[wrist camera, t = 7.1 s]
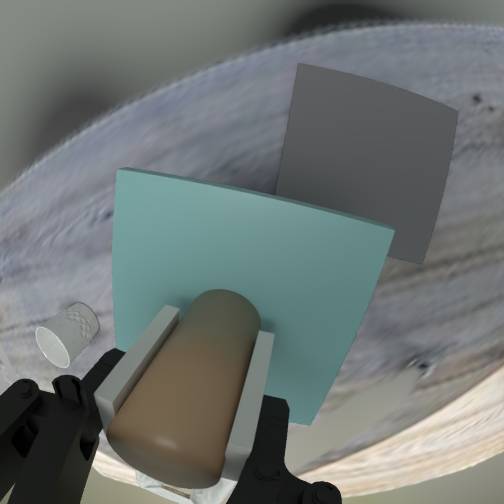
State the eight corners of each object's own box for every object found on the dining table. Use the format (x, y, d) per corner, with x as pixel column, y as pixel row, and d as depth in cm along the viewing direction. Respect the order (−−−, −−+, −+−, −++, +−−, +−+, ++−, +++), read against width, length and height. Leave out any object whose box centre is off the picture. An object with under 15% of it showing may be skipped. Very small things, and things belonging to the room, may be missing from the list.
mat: (456, 111, 27) (458, 110, 27) (420, 263, 34) (421, 264, 34) (298, 64, 29) (298, 63, 29) (268, 227, 36) (268, 228, 36)
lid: (389, 225, 14) (495, 344, 5) (310, 415, 19) (301, 542, 10) (127, 167, 15) (-32, 208, 6) (124, 362, 20) (52, 459, 11)
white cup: (63, 310, 48) (30, 336, 39) (81, 292, 46) (44, 319, 36) (89, 342, 50) (59, 373, 40) (109, 327, 47) (76, 360, 38)
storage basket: (172, 371, 48) (135, 434, 34) (262, 405, 47) (245, 476, 33) (159, 436, 56) (134, 485, 43) (227, 462, 55) (211, 515, 42)
